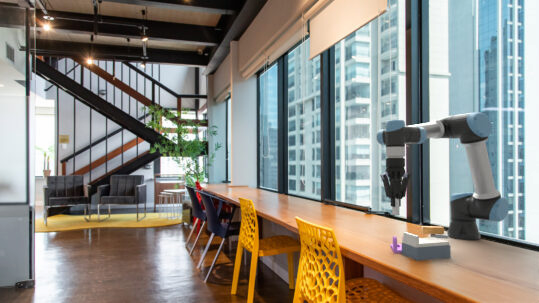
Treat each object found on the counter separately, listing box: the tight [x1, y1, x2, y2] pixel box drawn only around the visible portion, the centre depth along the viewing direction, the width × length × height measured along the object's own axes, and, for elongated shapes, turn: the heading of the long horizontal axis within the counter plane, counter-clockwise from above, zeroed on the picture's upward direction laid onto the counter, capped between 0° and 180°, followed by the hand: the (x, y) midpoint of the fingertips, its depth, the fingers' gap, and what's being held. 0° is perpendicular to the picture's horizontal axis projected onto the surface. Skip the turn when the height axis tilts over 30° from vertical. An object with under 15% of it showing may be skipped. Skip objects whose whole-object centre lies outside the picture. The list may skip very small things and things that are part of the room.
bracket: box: [390, 235, 402, 254], centre depth 158 cm, size 13×6×7 cm, turn 168°
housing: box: [401, 242, 452, 262], centre depth 152 cm, size 22×17×5 cm
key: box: [420, 225, 450, 240], centre depth 159 cm, size 3×11×9 cm, turn 80°
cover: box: [401, 231, 450, 248], centre depth 148 cm, size 16×9×4 cm, turn 105°
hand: (395, 214), depth 144 cm, fingers closed
